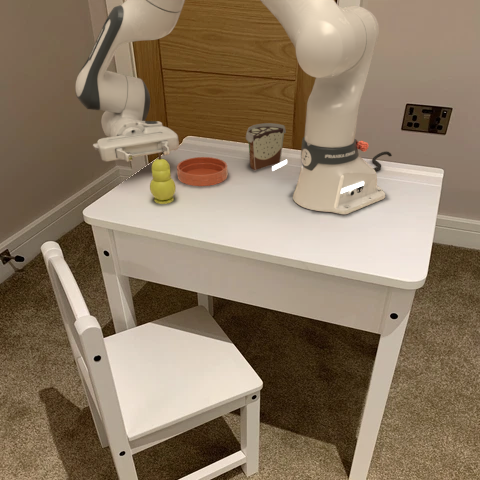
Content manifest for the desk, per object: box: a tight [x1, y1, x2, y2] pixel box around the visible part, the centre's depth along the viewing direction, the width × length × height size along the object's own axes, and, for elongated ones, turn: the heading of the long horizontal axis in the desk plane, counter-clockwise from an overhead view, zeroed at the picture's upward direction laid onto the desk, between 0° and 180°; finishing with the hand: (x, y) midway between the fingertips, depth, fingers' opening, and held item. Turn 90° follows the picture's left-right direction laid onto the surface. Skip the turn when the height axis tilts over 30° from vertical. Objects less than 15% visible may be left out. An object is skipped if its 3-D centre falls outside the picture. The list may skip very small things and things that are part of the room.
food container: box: [245, 122, 287, 172], centre depth 134 cm, size 12×6×10 cm, turn 130°
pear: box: [149, 153, 177, 205], centre depth 115 cm, size 6×6×11 cm
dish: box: [176, 156, 229, 187], centre depth 128 cm, size 13×13×3 cm
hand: (148, 155), depth 119 cm, fingers open, 8 cm apart
